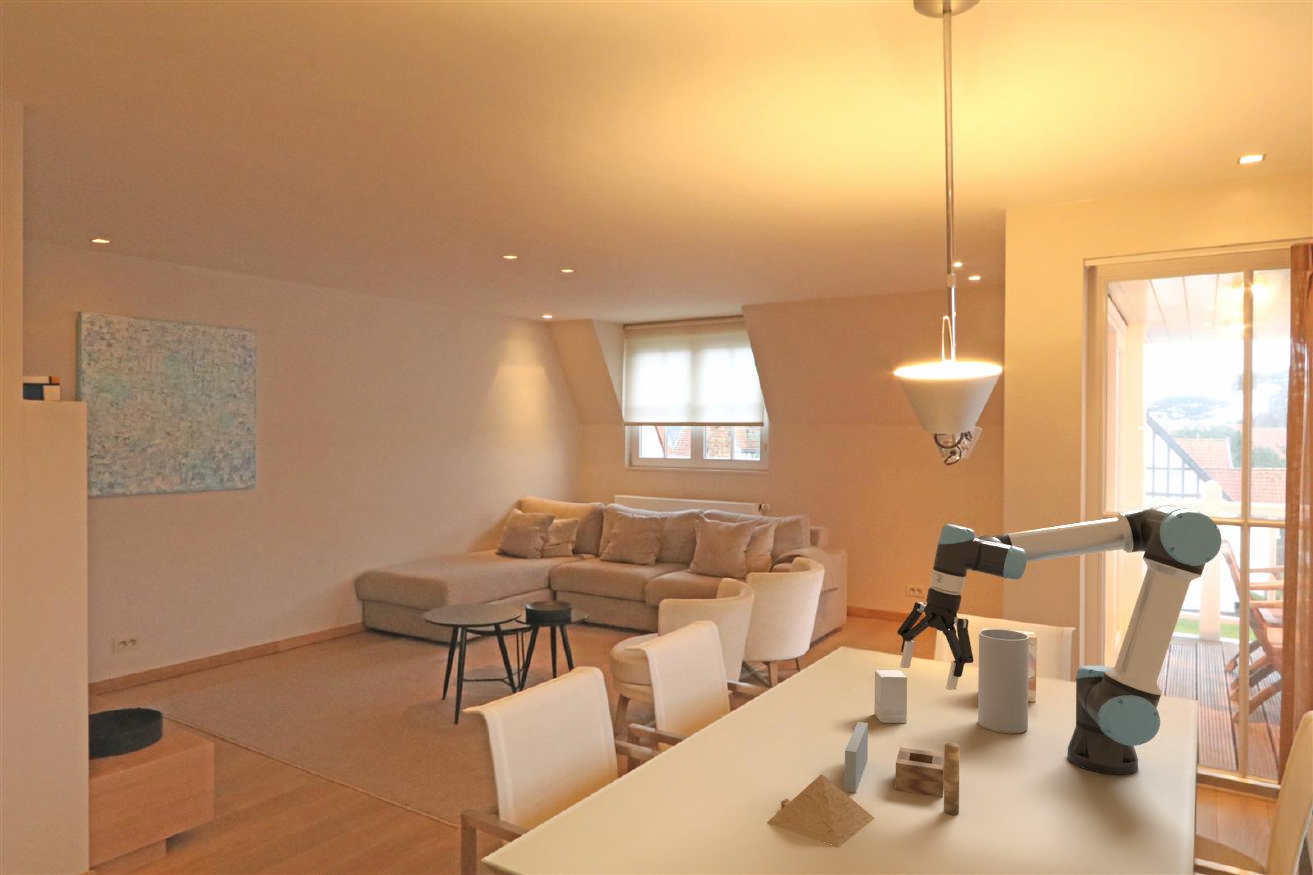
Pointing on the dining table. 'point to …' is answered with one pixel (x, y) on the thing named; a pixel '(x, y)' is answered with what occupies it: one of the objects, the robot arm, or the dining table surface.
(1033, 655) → the coffeecake box
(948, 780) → the dowel
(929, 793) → the block
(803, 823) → the model pyramid
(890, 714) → the supplement box
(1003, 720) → the cylinder vase
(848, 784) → the panel
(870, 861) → the dining table surface
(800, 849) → the dining table surface
